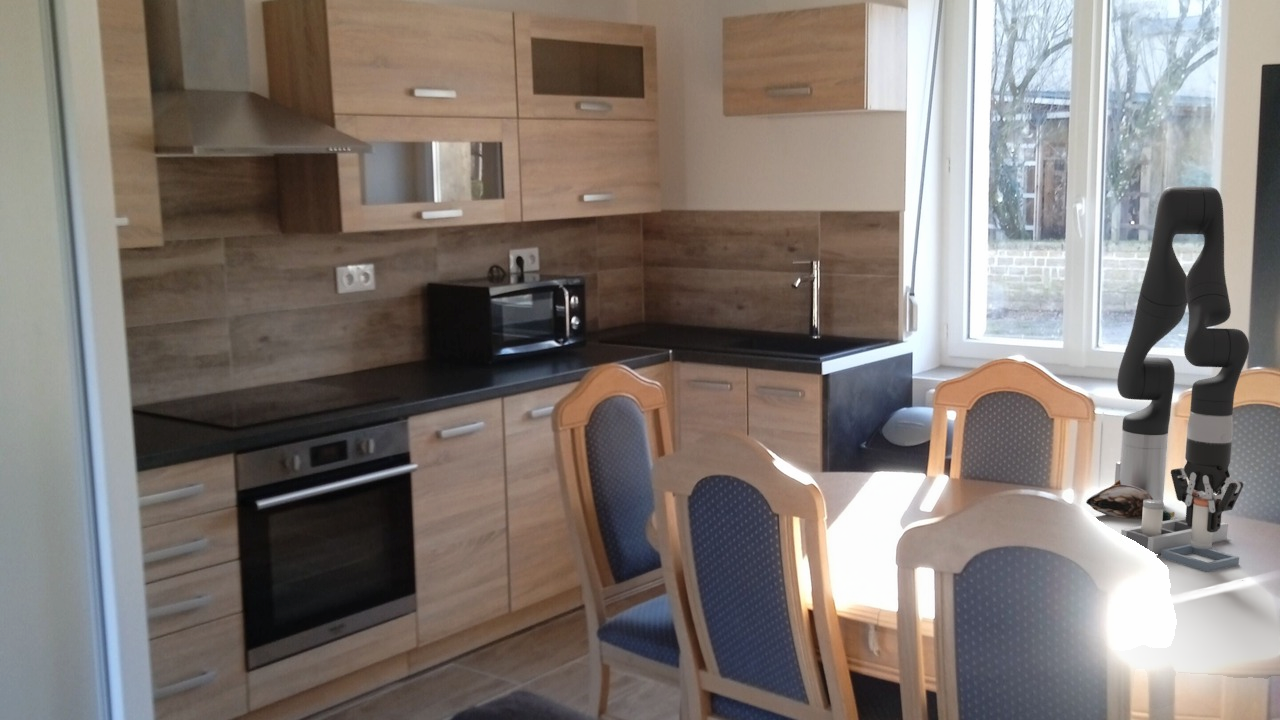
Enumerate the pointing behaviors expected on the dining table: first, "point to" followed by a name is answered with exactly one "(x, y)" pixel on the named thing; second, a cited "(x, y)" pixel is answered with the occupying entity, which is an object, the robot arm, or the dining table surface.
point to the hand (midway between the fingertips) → (1202, 528)
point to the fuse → (1152, 517)
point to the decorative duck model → (1122, 502)
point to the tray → (1220, 563)
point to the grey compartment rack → (1171, 535)
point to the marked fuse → (1200, 525)
